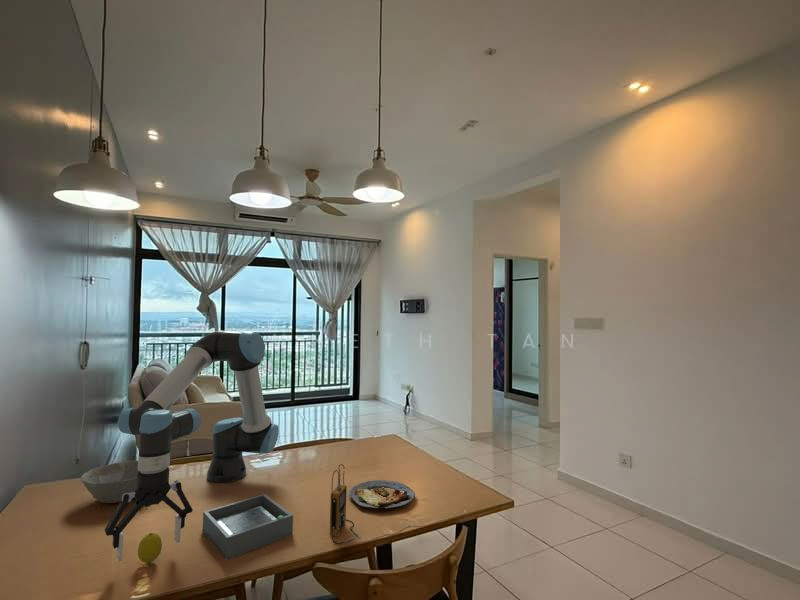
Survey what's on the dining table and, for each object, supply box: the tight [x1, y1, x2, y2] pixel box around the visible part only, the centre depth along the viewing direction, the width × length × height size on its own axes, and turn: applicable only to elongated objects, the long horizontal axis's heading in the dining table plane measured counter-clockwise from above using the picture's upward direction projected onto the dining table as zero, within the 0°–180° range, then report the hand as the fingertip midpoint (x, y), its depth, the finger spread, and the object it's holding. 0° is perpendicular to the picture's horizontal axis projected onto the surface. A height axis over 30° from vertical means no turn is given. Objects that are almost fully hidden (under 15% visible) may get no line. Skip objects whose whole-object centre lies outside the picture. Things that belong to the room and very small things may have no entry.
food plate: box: [348, 479, 416, 510], centre depth 153 cm, size 25×23×4 cm
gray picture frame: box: [216, 506, 276, 535], centre depth 126 cm, size 15×15×1 cm
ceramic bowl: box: [80, 459, 139, 504], centre depth 148 cm, size 22×23×10 cm
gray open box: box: [202, 493, 294, 561], centre depth 126 cm, size 20×20×7 cm
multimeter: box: [329, 464, 362, 545], centre depth 128 cm, size 15×10×20 cm
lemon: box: [137, 532, 163, 565], centre depth 110 cm, size 6×6×8 cm
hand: (149, 549), depth 110 cm, fingers open, 13 cm apart
